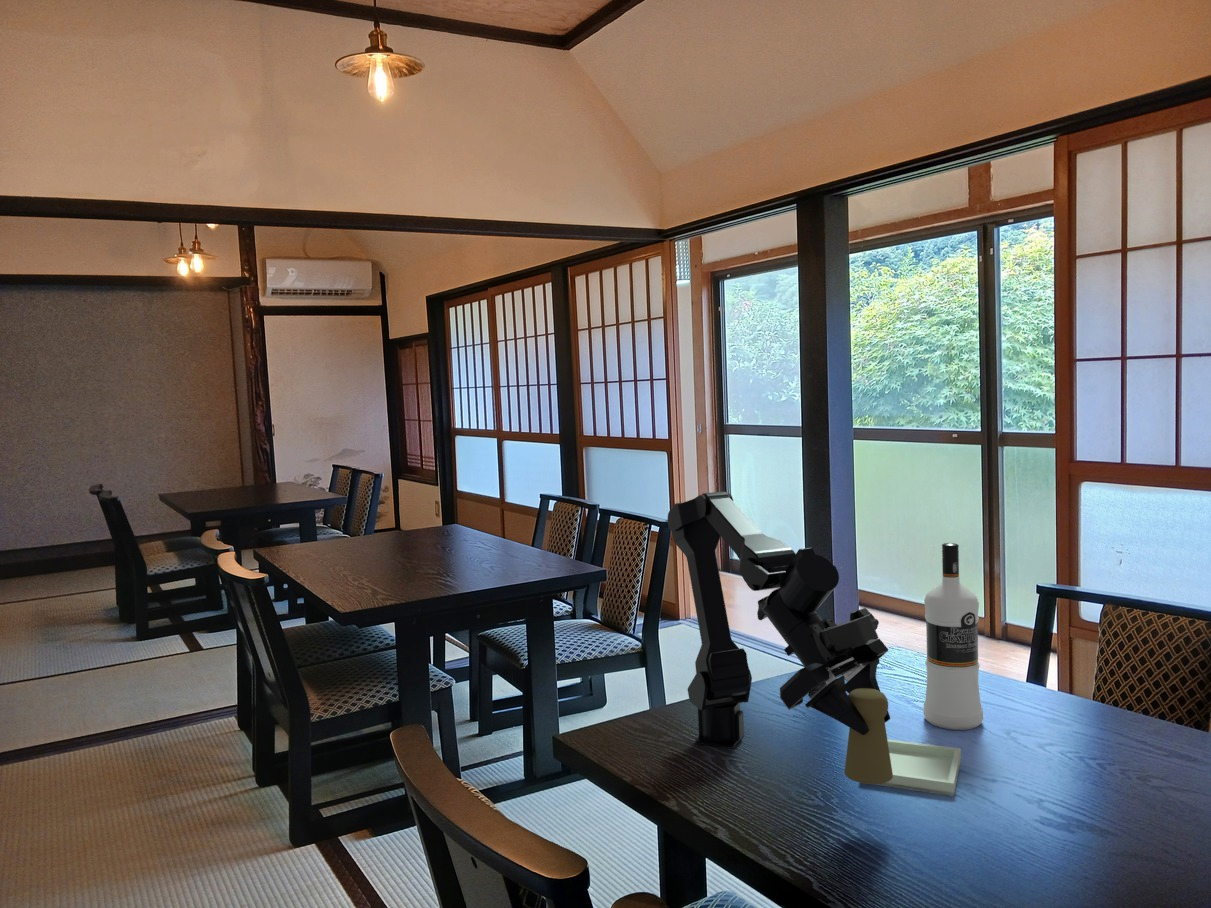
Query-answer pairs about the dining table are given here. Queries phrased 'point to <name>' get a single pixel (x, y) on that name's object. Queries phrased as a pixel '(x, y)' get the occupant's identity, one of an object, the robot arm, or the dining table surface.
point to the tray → (924, 767)
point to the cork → (869, 740)
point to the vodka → (952, 650)
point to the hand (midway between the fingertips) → (877, 726)
